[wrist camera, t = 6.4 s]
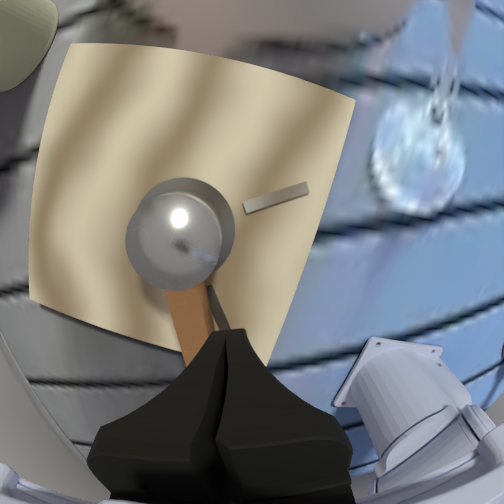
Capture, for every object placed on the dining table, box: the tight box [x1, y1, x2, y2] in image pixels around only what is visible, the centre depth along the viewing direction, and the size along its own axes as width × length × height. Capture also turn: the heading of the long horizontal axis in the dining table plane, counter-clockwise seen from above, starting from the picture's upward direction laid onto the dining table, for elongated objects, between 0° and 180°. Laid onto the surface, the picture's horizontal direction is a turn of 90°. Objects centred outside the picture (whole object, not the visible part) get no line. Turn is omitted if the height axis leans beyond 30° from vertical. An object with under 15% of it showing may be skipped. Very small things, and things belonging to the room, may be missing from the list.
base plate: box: [29, 43, 356, 366], centre depth 18 cm, size 20×20×2 cm
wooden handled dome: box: [125, 189, 223, 367], centre depth 17 cm, size 11×5×3 cm, turn 7°
